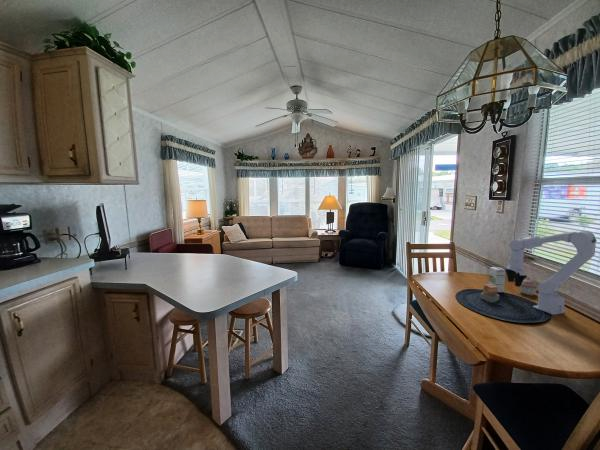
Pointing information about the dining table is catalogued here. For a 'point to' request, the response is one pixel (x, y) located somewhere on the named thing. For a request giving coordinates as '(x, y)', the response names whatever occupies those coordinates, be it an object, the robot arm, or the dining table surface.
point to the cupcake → (528, 287)
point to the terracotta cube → (490, 289)
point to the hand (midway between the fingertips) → (514, 283)
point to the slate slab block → (489, 297)
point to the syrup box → (497, 278)
